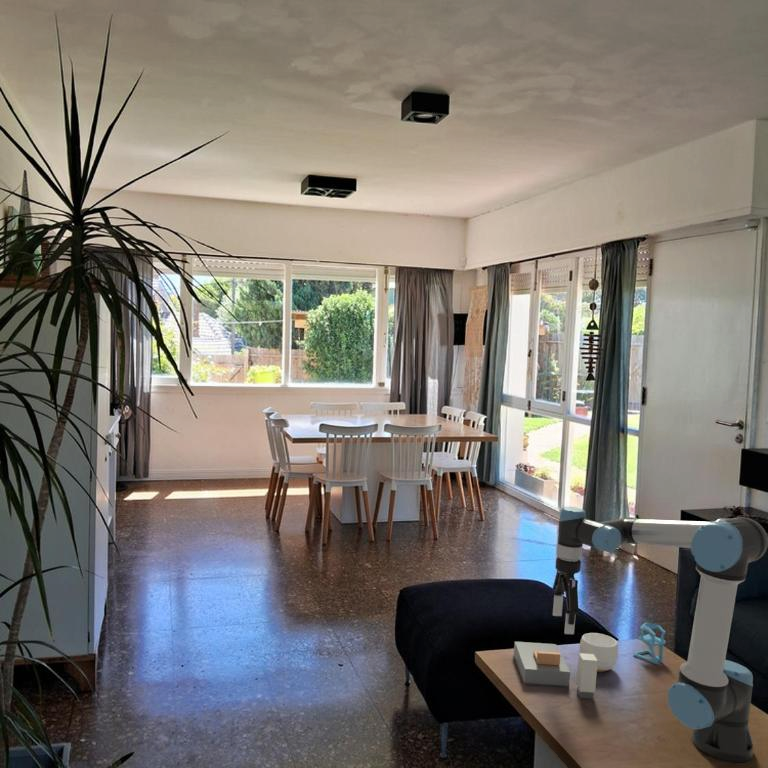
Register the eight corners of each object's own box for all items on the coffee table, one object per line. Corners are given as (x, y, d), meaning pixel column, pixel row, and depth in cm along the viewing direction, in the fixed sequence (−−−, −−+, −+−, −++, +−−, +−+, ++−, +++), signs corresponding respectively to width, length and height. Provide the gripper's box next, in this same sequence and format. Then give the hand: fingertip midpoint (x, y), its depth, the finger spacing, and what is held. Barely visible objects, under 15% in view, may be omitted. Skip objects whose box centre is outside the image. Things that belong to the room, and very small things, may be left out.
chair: (652, 666, 245) (656, 631, 244) (632, 655, 252) (636, 622, 251) (667, 661, 249) (670, 628, 248) (647, 651, 256) (650, 618, 255)
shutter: (559, 665, 229) (560, 654, 229) (537, 663, 229) (538, 653, 229) (554, 655, 236) (555, 645, 236) (533, 654, 236) (534, 643, 236)
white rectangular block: (594, 699, 220) (597, 660, 219) (579, 698, 220) (582, 659, 219) (590, 691, 224) (593, 654, 223) (575, 690, 224) (579, 653, 223)
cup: (620, 666, 243) (623, 638, 242) (611, 680, 232) (614, 651, 232) (583, 656, 249) (586, 628, 248) (573, 669, 239) (575, 641, 238)
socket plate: (568, 687, 226) (570, 671, 225) (523, 684, 226) (525, 668, 226) (554, 658, 246) (555, 644, 245) (513, 655, 246) (514, 641, 246)
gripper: (593, 572, 211) (587, 642, 213) (569, 546, 236) (563, 609, 238) (568, 570, 211) (561, 641, 213) (546, 544, 236) (541, 608, 237)
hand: (562, 624), depth 225 cm, fingers open, 13 cm apart
